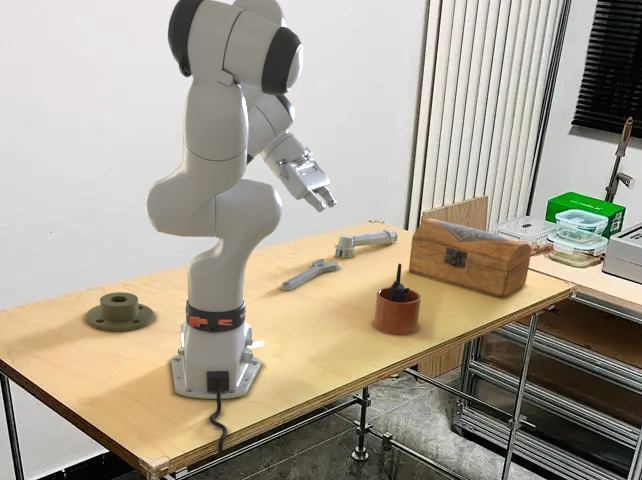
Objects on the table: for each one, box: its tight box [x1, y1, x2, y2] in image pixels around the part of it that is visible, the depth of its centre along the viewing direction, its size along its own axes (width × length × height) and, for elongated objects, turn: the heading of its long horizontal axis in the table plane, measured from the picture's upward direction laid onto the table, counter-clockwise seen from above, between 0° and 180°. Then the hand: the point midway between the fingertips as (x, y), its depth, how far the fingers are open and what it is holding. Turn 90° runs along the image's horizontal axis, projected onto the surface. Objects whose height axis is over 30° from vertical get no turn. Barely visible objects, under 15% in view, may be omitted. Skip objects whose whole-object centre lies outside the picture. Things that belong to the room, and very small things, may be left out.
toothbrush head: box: [334, 229, 398, 259], centre depth 242 cm, size 5×7×25 cm
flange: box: [85, 291, 154, 332], centre depth 186 cm, size 5×15×15 cm
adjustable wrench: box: [281, 258, 339, 292], centre depth 220 cm, size 25×6×2 cm, turn 147°
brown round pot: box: [373, 286, 422, 336], centre depth 193 cm, size 10×10×8 cm
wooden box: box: [408, 217, 532, 299], centre depth 224 cm, size 30×16×14 cm, turn 55°
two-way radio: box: [389, 263, 410, 303], centre depth 191 cm, size 6×4×15 cm
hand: (328, 208), depth 180 cm, fingers open, 8 cm apart
